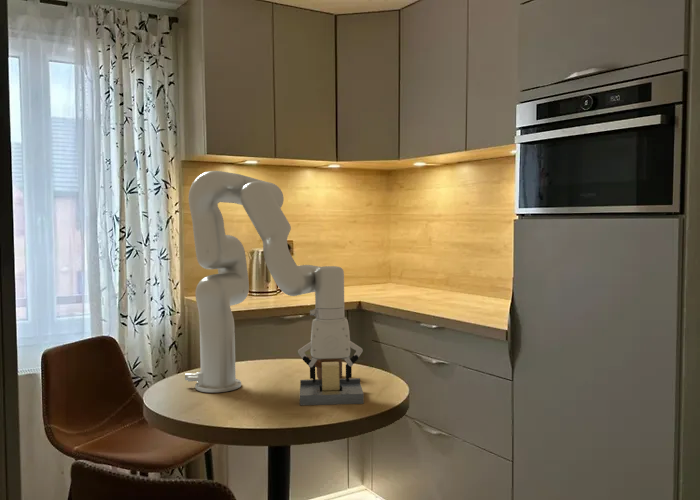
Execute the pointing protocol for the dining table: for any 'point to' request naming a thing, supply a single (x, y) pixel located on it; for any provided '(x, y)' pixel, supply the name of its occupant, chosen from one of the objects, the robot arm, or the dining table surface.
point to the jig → (331, 393)
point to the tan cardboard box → (330, 376)
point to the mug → (319, 361)
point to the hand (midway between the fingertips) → (330, 380)
